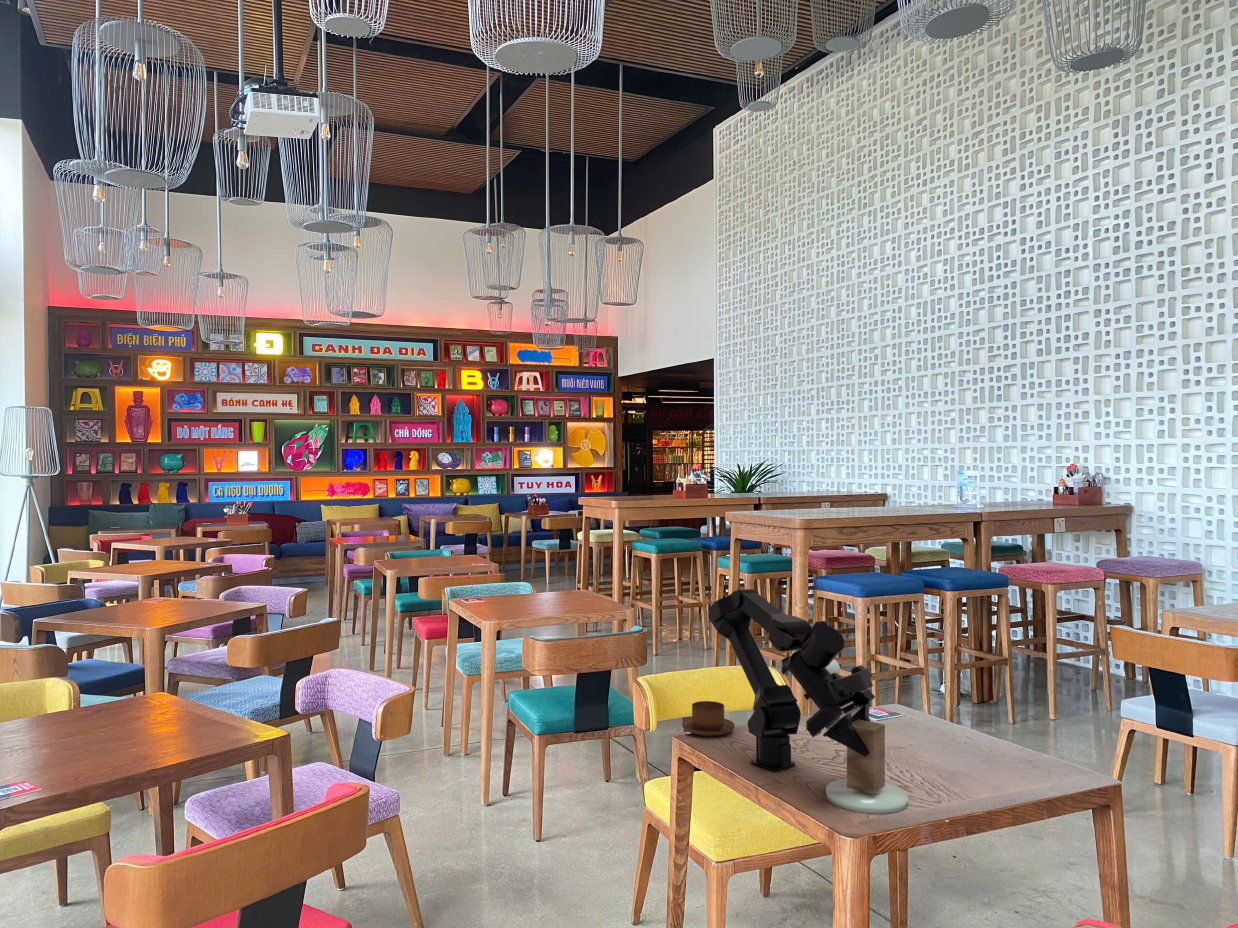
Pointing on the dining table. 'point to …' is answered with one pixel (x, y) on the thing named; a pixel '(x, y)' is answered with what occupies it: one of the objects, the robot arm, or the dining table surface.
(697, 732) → the cup and saucer
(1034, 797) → the dining table surface
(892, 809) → the dish
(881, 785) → the walnut block
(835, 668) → the lollipop
